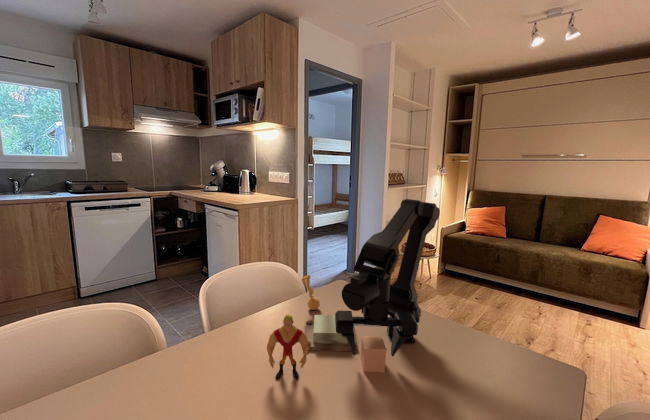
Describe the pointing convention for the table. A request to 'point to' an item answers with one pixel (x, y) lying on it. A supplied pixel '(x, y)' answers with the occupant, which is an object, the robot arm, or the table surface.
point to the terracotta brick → (373, 354)
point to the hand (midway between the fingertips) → (373, 354)
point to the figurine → (312, 302)
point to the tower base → (325, 346)
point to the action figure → (287, 344)
